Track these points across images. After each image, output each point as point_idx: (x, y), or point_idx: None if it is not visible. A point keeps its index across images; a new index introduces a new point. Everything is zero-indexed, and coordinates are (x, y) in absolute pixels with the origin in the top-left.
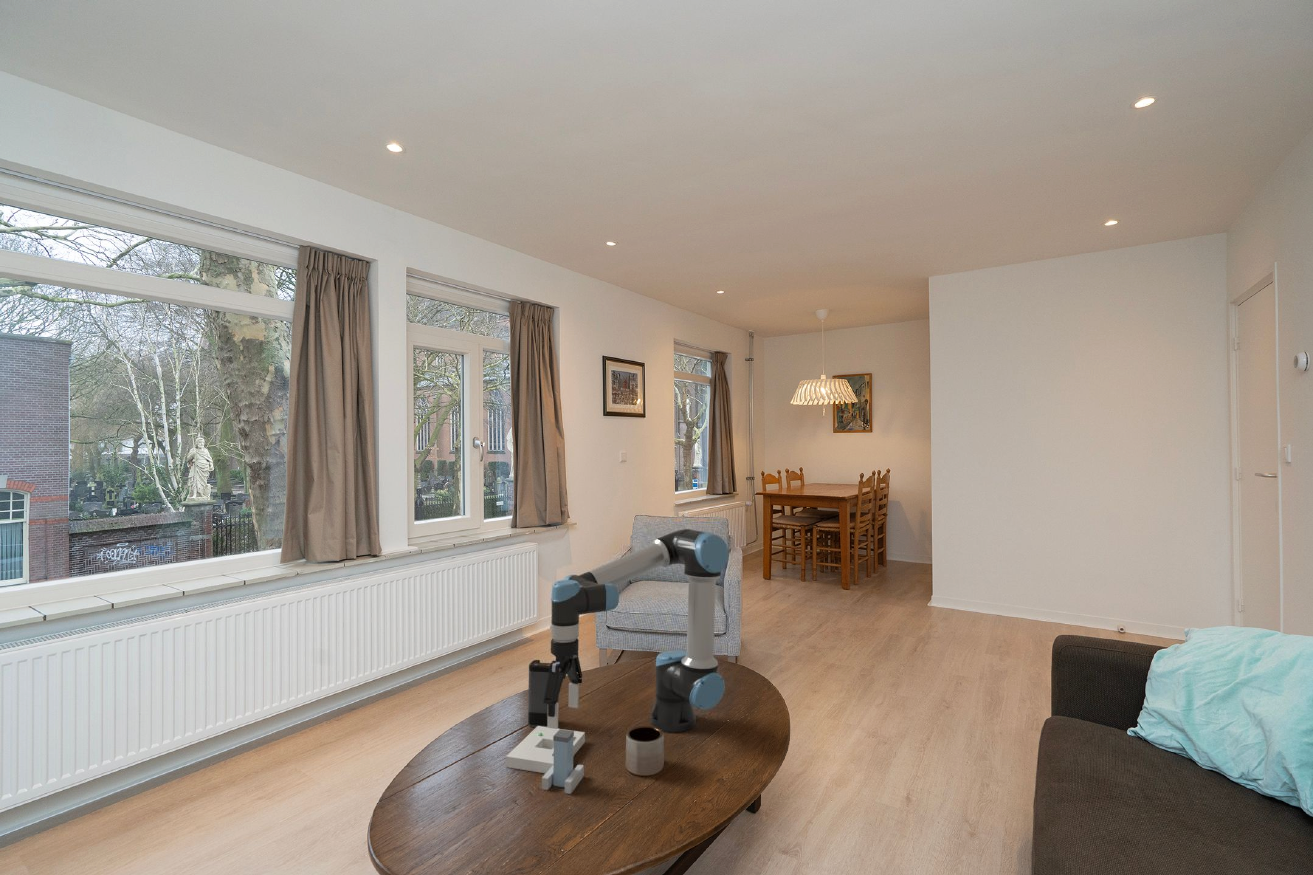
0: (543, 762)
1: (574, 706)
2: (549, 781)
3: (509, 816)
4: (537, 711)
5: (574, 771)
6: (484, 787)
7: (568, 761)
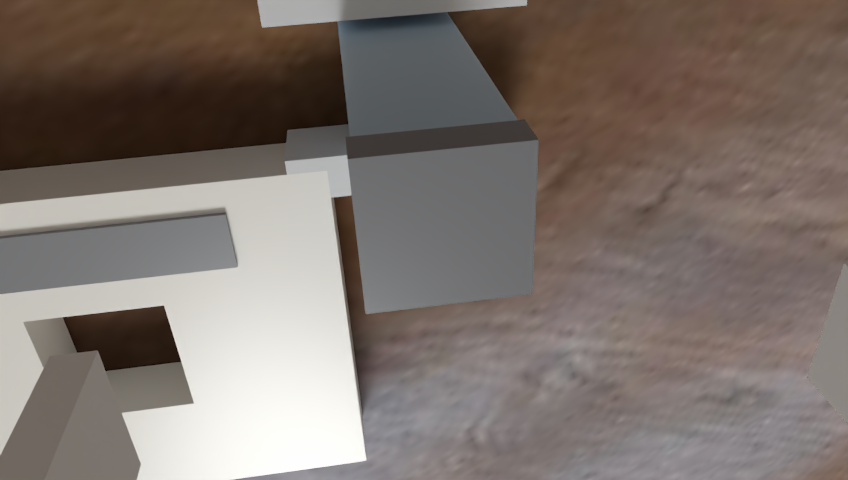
0: (340, 264)
1: (107, 402)
2: None
3: (783, 161)
4: None
5: (371, 2)
6: (563, 391)
7: (449, 56)
